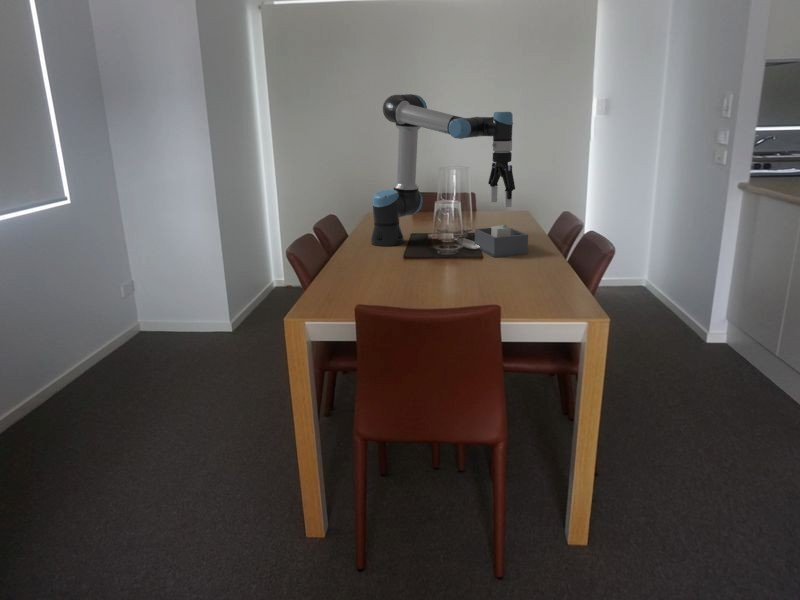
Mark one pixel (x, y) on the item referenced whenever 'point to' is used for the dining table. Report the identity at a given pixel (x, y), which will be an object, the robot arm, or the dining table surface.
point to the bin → (502, 243)
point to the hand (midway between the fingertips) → (500, 204)
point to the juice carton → (500, 231)
